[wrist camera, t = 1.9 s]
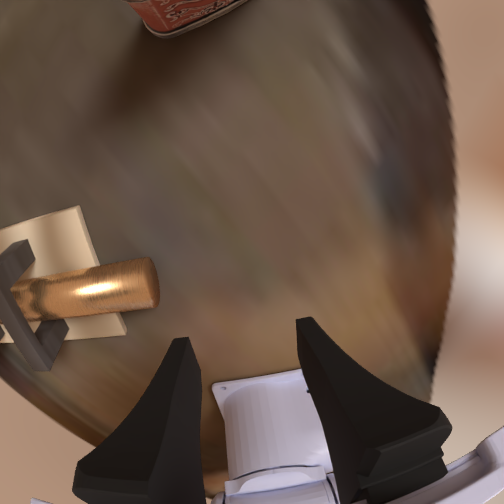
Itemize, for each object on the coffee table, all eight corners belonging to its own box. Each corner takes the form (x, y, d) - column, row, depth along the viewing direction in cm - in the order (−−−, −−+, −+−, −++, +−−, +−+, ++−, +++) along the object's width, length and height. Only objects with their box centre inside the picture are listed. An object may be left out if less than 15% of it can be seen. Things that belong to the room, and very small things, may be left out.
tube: (149, 247, 18) (139, 273, 16) (162, 288, 20) (155, 318, 17) (-5, 278, 18) (-24, 300, 15) (11, 309, 19) (-5, 333, 16)
